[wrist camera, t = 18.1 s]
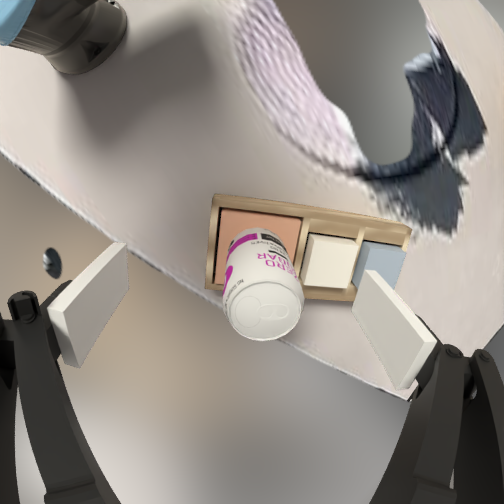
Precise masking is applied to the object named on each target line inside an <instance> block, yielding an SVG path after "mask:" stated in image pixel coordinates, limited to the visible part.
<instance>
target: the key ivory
mask: <svg viewBox="0 0 504 504" xmlns="http://www.w3.org/2000/svg"><path fill="white" fill-rule="evenodd" d="M358 248H359V246H358V245H357V244H356V243H355V242H354V241H353V240H352V239H346V238H339V237H332V236H324V235H317V234H309V238H308V243H307V247H306V252H305V257H304V261H303V266H302V270H301V275H300V277H301V279H302V281H303V284H304V285H310V286H322V287H334V288H347V286H348V283H349V279H350V276H351V273H352V269H353V266H354V262H355V259H356V255H357V251H358Z"/></svg>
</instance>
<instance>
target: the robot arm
mask: <svg viewBox="0 0 504 504" xmlns="http://www.w3.org/2000/svg"><path fill="white" fill-rule="evenodd" d="M126 24H127V17H126V13H125V11H124V9H123V8H122V7H121V6H120V5H119V4H118V3H117V2H116V1H115V0H0V45H2V46H11V47H15V48H19V49H23V50H27V51H31V52H34V53H38V54H41V55H43V56H44V57H45V58H46V59H47V60H48V61H49V62H50V63H51V65H52V66H53V67H54V68H55V69H56V70H58V71H60V72H63V73H67V74H73V75H74V74H81V73H84V72H87V71H89V70H91V69H93V68H95V67H97V66H98V65H99V64H101V63H102V62H103V61H104V60H106V59H107V58H108V57H109V56H110V55H111V54H112V52H113V51H114V50H115V49H116V47H117V46H118V44H119V43H120V41H121V39H122V37H123V35H124V32H125V29H126ZM128 290H129V280H128V263H127V243H118V242H114V243H113V244H111V245H110V246H109V247H108V248H107V249H106V250H105V251H104V252H103V253H102V254H100V256H98V257H97V258H96V259H95V260H94V261H93V262H92V263H91V264H90V265H89V266H88V267H87V268H86V269H85V270H84V271H83V272H81V273H80V274H79V275H78V276H77V277H76V278H75V280H69V281H67V282H65V283H63V284H61V285H60V286H59V287H58V288H57V289H56V290H55V291H54V292H53V293H52V294H51V296H49V297H48V298H47V299H46V300H45V301H44V302H43V303H42V304H41V305H40V306H39V303H38V299H37V296H36V294H35V293H34V292H32V291H21V292H17V293H15V294H14V295H12V296H11V297H10V298H9V299H8V303H7V304H8V307H9V310H10V313H11V316H12V319H13V320H4V319H2V316H1V313H0V504H20V501H19V494H18V486H17V477H16V466H15V411H16V397H17V388H18V387H19V394H20V399H21V404H22V410H23V415H24V419H25V423H26V428H27V432H28V435H29V439H30V443H31V447H32V450H33V453H34V456H35V460H36V463H37V465H38V468H39V471H40V474H41V477H42V479H43V482H44V484H45V487H46V492H47V493H46V494H45V495H44V502H45V504H121V503H120V501H119V500H118V498H117V496H116V495H115V493H114V492H113V490H112V488H111V487H110V485H109V483H108V481H107V480H106V478H105V476H104V475H103V473H102V471H101V469H100V467H99V465H98V463H97V461H96V459H95V457H94V455H93V453H92V451H91V449H90V447H89V445H88V443H87V441H86V439H85V436H84V434H83V432H82V430H81V427H80V425H79V422H78V420H77V417H76V415H75V412H74V409H73V407H72V404H71V402H70V398H69V396H68V393H67V390H66V387H65V384H64V381H63V377H62V374H61V370H60V367H59V364H58V362H57V359H58V357H59V355H60V354H61V355H62V357H63V360H64V363H65V364H67V365H70V366H73V367H77V368H80V367H81V366H82V364H83V362H84V360H85V359H86V357H87V355H88V353H89V351H90V350H91V348H92V347H93V345H94V343H95V342H96V339H97V338H98V337H99V335H100V333H101V332H102V330H103V328H104V327H105V325H106V324H107V322H108V320H109V319H110V317H111V316H112V314H113V312H114V311H115V309H116V308H117V306H118V305H119V303H120V302H121V300H122V299H123V297H124V296H125V294H126V293H127V291H128ZM351 311H352V313H353V314H354V316H355V318H356V319H357V321H358V323H359V325H360V326H361V328H362V330H363V331H364V333H365V335H366V337H367V338H368V340H369V342H370V344H371V345H372V347H373V349H374V351H375V352H376V354H377V356H378V358H379V360H380V361H381V363H382V365H383V367H384V369H385V371H386V372H387V374H388V376H389V378H390V380H391V382H392V384H393V385H394V387H395V389H396V390H402V389H408V388H410V386H411V385H412V383H413V381H414V380H415V379H416V380H417V382H418V386H417V387H416V389H415V390H414V392H413V393H412V394H411V396H410V397H409V399H408V400H407V401H408V402H409V401H410V400H411V399H412V401H411V405H410V408H409V411H408V414H407V417H406V420H405V423H404V426H403V429H402V432H401V435H400V437H399V440H398V443H397V445H396V448H395V450H394V453H393V455H392V457H391V460H390V462H389V464H388V467H387V469H386V471H385V473H384V475H383V478H382V480H381V482H380V484H379V486H378V488H377V490H376V492H375V494H374V496H373V497H372V499H371V501H370V503H369V504H504V385H503V382H502V380H501V377H500V374H499V372H498V369H497V366H496V364H495V362H494V359H493V358H492V356H491V355H490V354H489V353H488V352H487V351H485V350H482V349H477V350H475V352H474V353H473V355H472V357H464V356H463V353H462V352H461V351H460V350H459V349H458V348H457V347H455V346H453V345H450V344H444V345H443V344H442V343H441V341H440V340H439V339H438V338H437V337H436V335H435V334H434V333H433V332H432V330H430V328H429V327H428V326H427V325H426V323H425V322H424V321H423V320H422V319H421V318H420V317H419V316H417V315H416V314H415V313H413V311H412V310H411V309H410V308H409V307H408V306H407V305H406V303H405V302H404V301H403V300H402V299H401V298H400V297H399V296H398V294H397V293H396V292H395V291H394V290H393V289H392V288H391V287H390V286H389V284H388V283H387V282H386V281H385V280H384V279H383V278H382V277H381V276H380V275H379V274H378V273H377V272H376V271H374V270H365V269H364V273H363V276H362V279H361V282H360V285H359V289H358V292H357V295H356V298H355V301H354V304H353V306H352V309H351ZM476 389H477V394H476V397H475V398H474V399H473V397H472V395H473V393H474V392H475V391H476ZM453 468H454V489H451V488H450V487H449V486H450V480H451V476H452V472H453Z"/></svg>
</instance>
